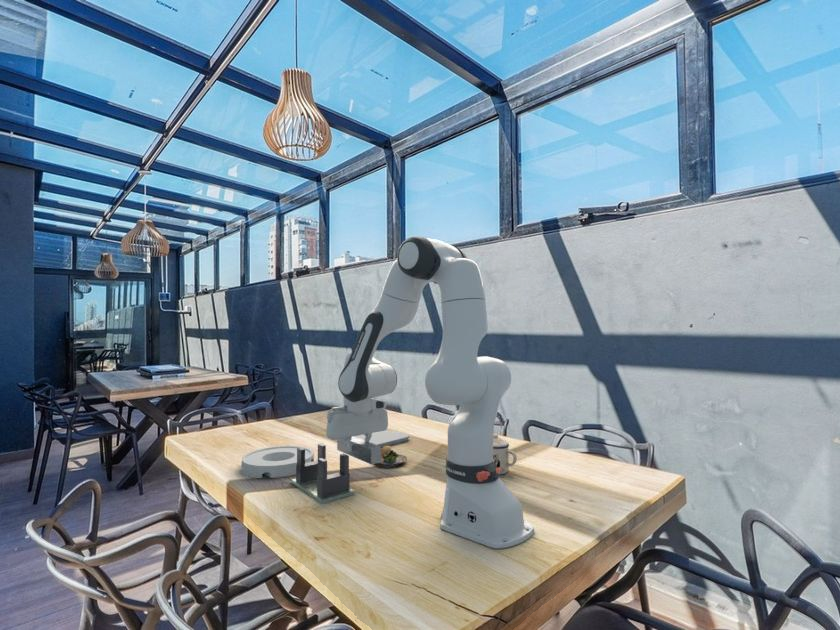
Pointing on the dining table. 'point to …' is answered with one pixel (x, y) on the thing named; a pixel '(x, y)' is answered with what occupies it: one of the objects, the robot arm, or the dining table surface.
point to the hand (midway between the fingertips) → (358, 449)
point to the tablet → (386, 437)
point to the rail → (361, 450)
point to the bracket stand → (322, 477)
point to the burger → (390, 458)
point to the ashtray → (273, 461)
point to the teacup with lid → (502, 454)
